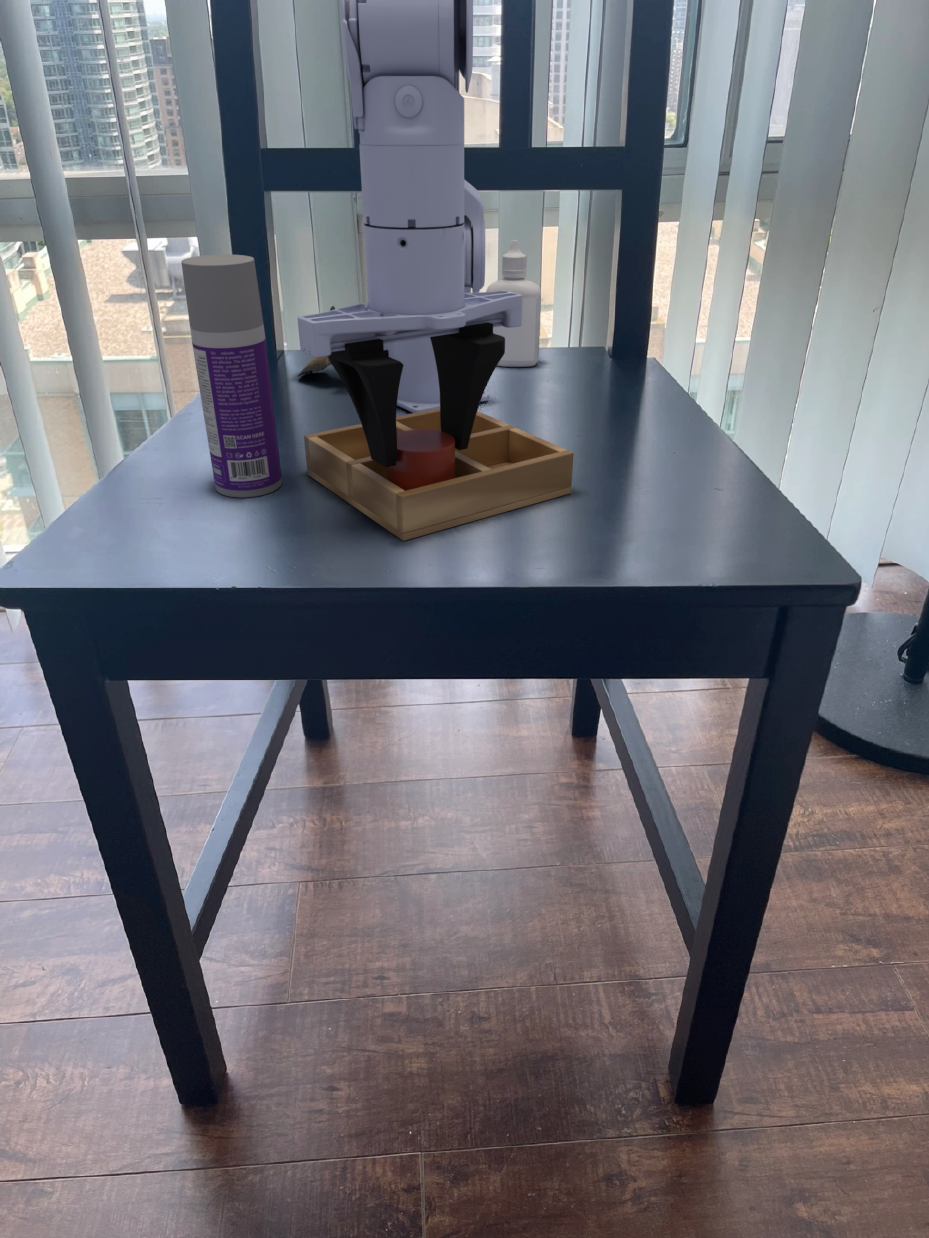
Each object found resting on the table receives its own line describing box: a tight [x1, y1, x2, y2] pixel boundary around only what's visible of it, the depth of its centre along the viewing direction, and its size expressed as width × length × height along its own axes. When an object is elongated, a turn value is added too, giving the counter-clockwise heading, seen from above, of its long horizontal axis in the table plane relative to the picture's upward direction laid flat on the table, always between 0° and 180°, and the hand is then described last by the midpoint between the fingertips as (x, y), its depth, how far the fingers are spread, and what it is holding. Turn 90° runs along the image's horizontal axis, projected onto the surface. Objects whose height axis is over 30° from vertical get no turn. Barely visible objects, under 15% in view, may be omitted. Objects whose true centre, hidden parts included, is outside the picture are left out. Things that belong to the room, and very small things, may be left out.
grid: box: [303, 408, 575, 542], centre depth 60 cm, size 14×14×3 cm
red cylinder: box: [388, 429, 455, 491], centre depth 56 cm, size 4×4×4 cm
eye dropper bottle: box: [485, 239, 542, 368], centre depth 87 cm, size 4×6×12 cm
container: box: [180, 254, 283, 498], centre depth 57 cm, size 5×5×15 cm
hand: (420, 453), depth 55 cm, fingers open, 5 cm apart
